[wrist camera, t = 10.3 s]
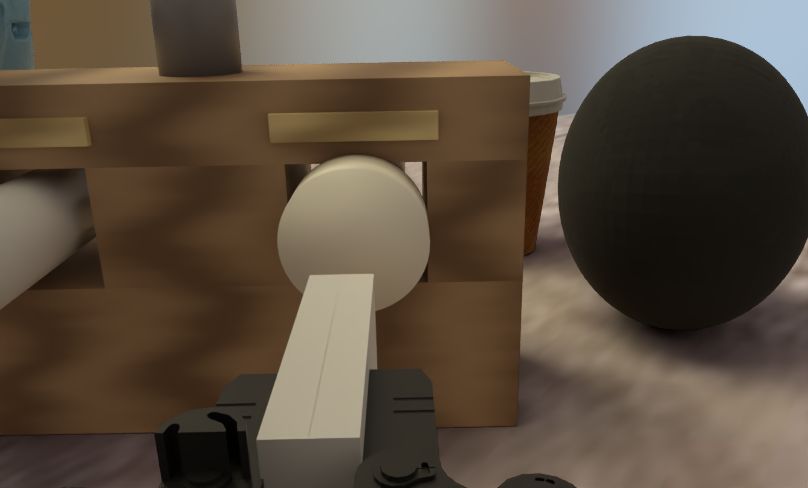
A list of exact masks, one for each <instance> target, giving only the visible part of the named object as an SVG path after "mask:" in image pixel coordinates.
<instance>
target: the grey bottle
mask: <svg viewBox="0 0 808 488" xmlns="http://www.w3.org/2000/svg"><path fill="white" fill-rule="evenodd" d="M149 1H150V9H151V17H152V25H153V32H154V40H155V48H156V55H157V63H158V71H159V76H165V77H204V76H220V75H230V74H236V73H241V72H242V64H241V53H240V42H239V31H238V20H237V10H236V0H149Z"/></svg>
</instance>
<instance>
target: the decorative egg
mask: <svg viewBox="0 0 808 488" xmlns="http://www.w3.org/2000/svg"><path fill="white" fill-rule="evenodd" d="M558 201H559V212H560V218H561V224H562V228H563V232H564V236H565V239H566V242H567V244H568V247H569V250H570V252H571V254H572V256H573V258H574V260H575V262H576V264H577V266H578V268H579V270H580V271H581V273H582V274H583V276H584V277H585V279H586V280H587V281H588V283H589V284H590V285H591V286H592V288H593V289H594V290H595V291H596V292H597V293H598V294H599V295H600V296H601V297H602V298H603V299H604V300H605V301H606V302H608V303H609V304H610V305H611V306H613V307H614V308H616V309H617V310H618V311H620V312H621V313H623V314H625V315H627V316H628V317H630V318H632V319H635V320H637V321H639V322H642V323H644V324H648V325H651V326H655V327H659V328H665V329H671V330H693V329H702V328H707V327H711V326H715V325H718V324H721V323H724V322H727V321H730V320H732V319H734V318H736V317H738V316H740V315H742V314H744V313H745V312H747V311H749V310H750V309H752V308H753V307H755V306H756V305H758V304H759V303H760V302H761V301H763V300H764V299H765V298H766V297H767V296H768V295H769V294H771V293H772V292H773V291H774V290H775V288H776V287H777V286H778V285H779V284H780V283H781V282H782V280H783V279H784V278H785V277H786V275H787V274H788V273H789V271H790V270H791V268H792V267H793V266H794V264H795V263H796V261H797V259H798V257H799V255H800V253H801V252H802V250H803V248H804V245H805V243H806V240H807V238H808V116H807V113H806V111H805V109H804V107H803V105H802V103H801V101H800V99H799V98H798V96H797V94H796V93H795V91H794V90H793V88H792V87H791V86H790V84H789V83H788V82H787V80H786V79H785V78H784V77H783V76H782V75H781V74H780V72H779V71H778V70H776V69H775V68H774V67H773V66H772V65H771V64H770V63H769V62H767V61H766V60H765V59H764V58H762V57H761V56H759V55H758V54H756V53H754V52H753V51H751V50H749V49H747V48H745V47H743V46H741V45H739V44H736V43H733V42H730V41H727V40H723V39H719V38H713V37H707V36H683V37H675V38H670V39H666V40H662V41H659V42H655V43H653V44H650V45H648V46H646V47H643V48H641V49H639V50H637V51H636V52H634V53H632V54H630V55H628V56H627V57H626V58H624V59H623V60H621V61H620V62H619V63H617V64H616V65H615V66H614V67H613V68H611V69H610V70H609V71H608V72H607V73H606V74H605V75H604V76H603V77H602V78H601V79H600V80H599V81H598V82H597V83H596V85H595V86H594V87H593V88H592V90H591V91H590V92H589V94H588V95H587V97H586V98H585V99H584V101H583V103H582V104H581V106H580V108H579V110H578V111H577V113H576V115H575V117H574V119H573V121H572V123H571V126H570V128H569V131H568V134H567V137H566V139H565V143H564V147H563V151H562V155H561V161H560V167H559V177H558Z"/></svg>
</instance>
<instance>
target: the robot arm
mask: <svg viewBox="0 0 808 488" xmlns="http://www.w3.org/2000/svg"><path fill="white" fill-rule="evenodd" d="M30 25H31V19H30V1H29V0H0V70H34V52H33V39H32V32H31V29H30ZM154 434H155V440H156V447H157V453H158V459H159V466H160V472H161V478H162V482H161V484H160V486H159V488H466V487H464V486H462V485H460V484H458V483H456V482H455V481H454V480H452V479H451V478H450V477H449V476H447V474H446V473H445V472H444V470H443V469H442V467H441V464H440V460H439V450H438V440H437V429H436V419H435V408H434V398H433V387H432V381H431V380H430V379H429V378H428V377H427V375H426V374H425V373H424V372H423V371H422V370H421V369H420V368H413V369H377V346H376V318H375V291H374V274H338V275H310V276H309V279H308V282H307V285H306V288H305V291H304V295H303V298H302V301H301V304H300V307H299V310H298V313H297V316H296V319H295V322H294V325H293V328H292V331H291V335H290V338H289V341H288V344H287V347H286V350H285V353H284V356H283V359H282V362H281V365H280V368H279V371H278V373H276V374H240V375H239V376H238V377H236V378H235V379H234V380H233V381H232V382H230V383H229V384H228V385H227V386H225V387H224V388H223V390H222V392H221V395H220V397H219V399H218V401H217V403H216V407H215V408H213V407H210V408H202V409H194V410H191V411H188V412H185V413H182V414H179V415H177V416H175V417H173V418H171V419H170V420H168V421H166V422H165V423H163V424H162V425H161V426H160V428H159V429H158V430H157V431H156V432H155V433H154ZM62 488H84V487H62ZM498 488H576V487H575V486H574V485H573V484H571V483H569V482H567V481H565V480H563V479H560V478H558V477H555V476H550V475H545V474H540V473H539V474H521V475H519V476H516V477H513V478H510V479H507V480H506V481H505V482H504V483H502V484H501V485H500V486H499V487H498Z"/></svg>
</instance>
